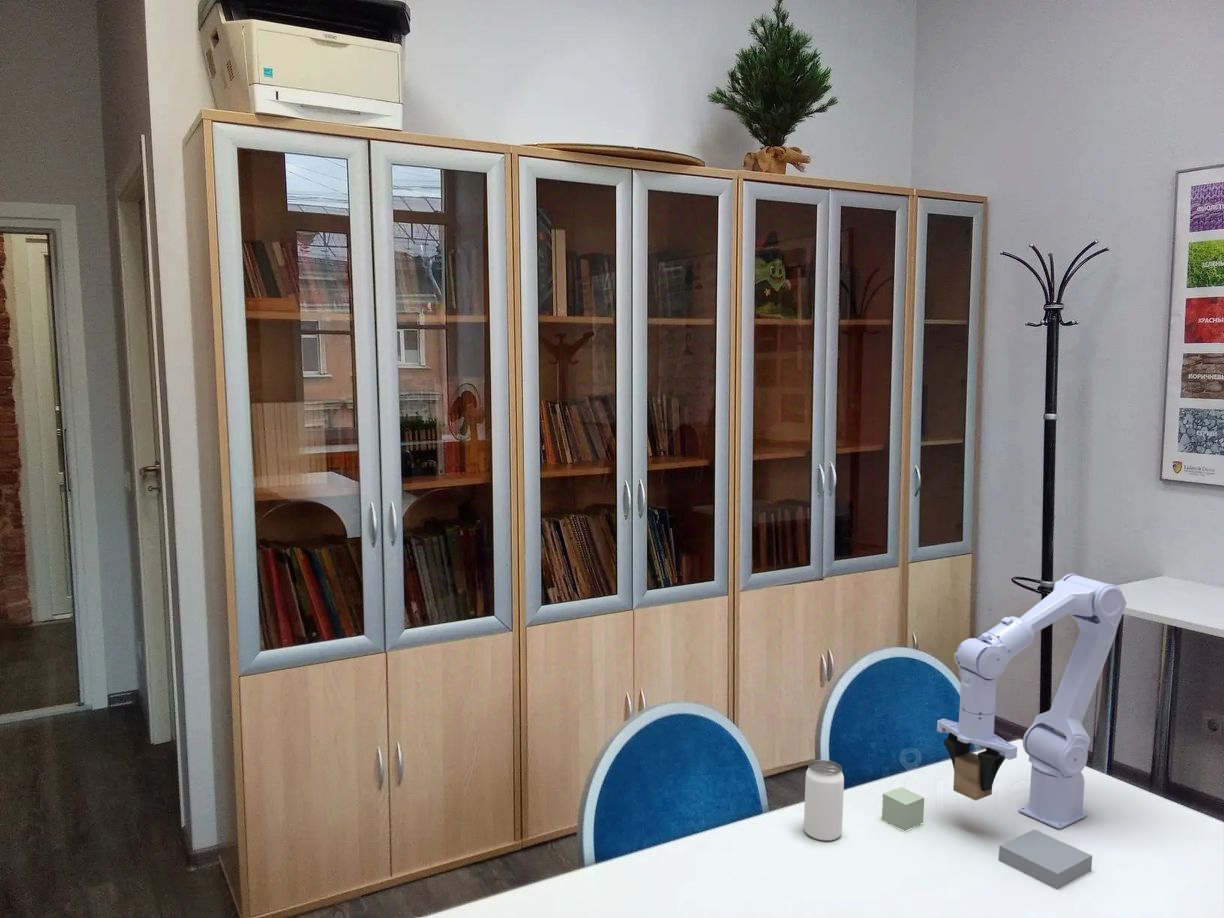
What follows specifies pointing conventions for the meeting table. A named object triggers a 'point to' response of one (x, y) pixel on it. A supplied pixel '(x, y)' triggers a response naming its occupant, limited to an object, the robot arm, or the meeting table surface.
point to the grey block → (1045, 858)
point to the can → (824, 800)
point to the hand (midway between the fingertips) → (973, 783)
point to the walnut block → (969, 777)
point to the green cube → (903, 808)
